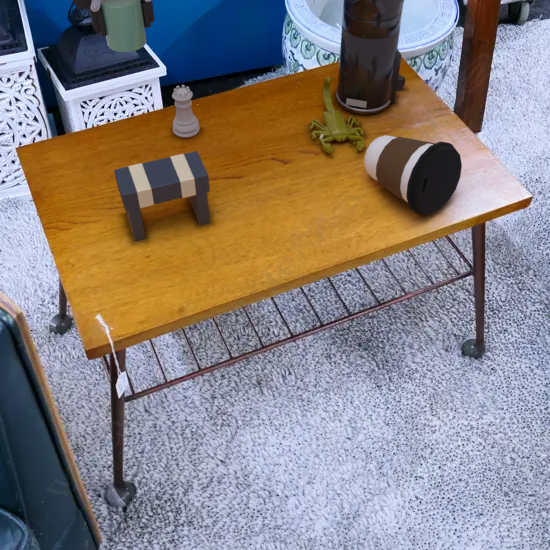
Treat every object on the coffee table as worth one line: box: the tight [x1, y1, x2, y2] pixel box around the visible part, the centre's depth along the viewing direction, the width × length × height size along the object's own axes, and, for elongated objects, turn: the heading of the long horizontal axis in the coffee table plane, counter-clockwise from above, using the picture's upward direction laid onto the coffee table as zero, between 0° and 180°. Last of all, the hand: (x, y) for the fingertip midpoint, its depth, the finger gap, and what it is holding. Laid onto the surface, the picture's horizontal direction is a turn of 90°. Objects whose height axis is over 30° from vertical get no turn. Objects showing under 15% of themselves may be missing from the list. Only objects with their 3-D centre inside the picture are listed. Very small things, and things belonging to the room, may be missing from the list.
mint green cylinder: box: [100, 0, 148, 53], centre depth 100 cm, size 5×5×6 cm
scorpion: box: [308, 76, 365, 154], centre depth 122 cm, size 9×15×6 cm, turn 11°
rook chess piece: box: [171, 84, 201, 139], centre depth 121 cm, size 4×4×8 cm
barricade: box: [113, 150, 211, 242], centre depth 107 cm, size 12×6×9 cm, turn 110°
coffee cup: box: [363, 135, 463, 215], centre depth 111 cm, size 11×11×12 cm
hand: (125, 28), depth 101 cm, fingers closed on mint green cylinder, 5 cm apart
